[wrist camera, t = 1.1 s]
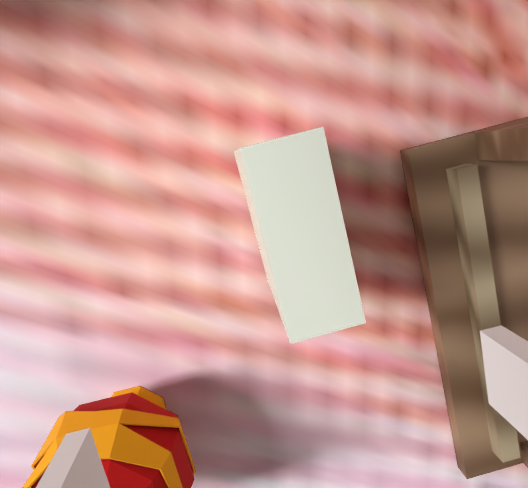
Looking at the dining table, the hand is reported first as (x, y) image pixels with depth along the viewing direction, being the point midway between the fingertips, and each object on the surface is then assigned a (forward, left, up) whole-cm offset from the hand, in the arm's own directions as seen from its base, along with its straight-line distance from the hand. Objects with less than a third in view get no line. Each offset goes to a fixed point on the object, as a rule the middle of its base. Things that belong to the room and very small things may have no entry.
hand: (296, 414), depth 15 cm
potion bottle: (+9, -12, -20) cm, 25 cm away
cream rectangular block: (-4, +3, -20) cm, 20 cm away
